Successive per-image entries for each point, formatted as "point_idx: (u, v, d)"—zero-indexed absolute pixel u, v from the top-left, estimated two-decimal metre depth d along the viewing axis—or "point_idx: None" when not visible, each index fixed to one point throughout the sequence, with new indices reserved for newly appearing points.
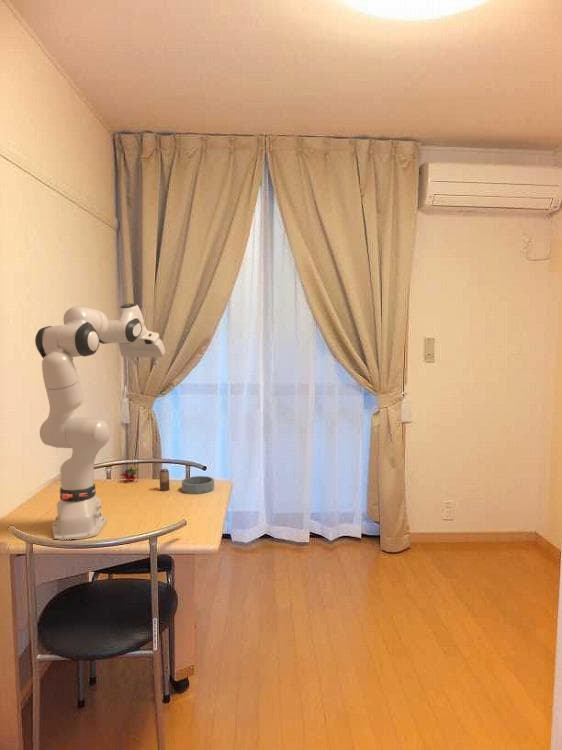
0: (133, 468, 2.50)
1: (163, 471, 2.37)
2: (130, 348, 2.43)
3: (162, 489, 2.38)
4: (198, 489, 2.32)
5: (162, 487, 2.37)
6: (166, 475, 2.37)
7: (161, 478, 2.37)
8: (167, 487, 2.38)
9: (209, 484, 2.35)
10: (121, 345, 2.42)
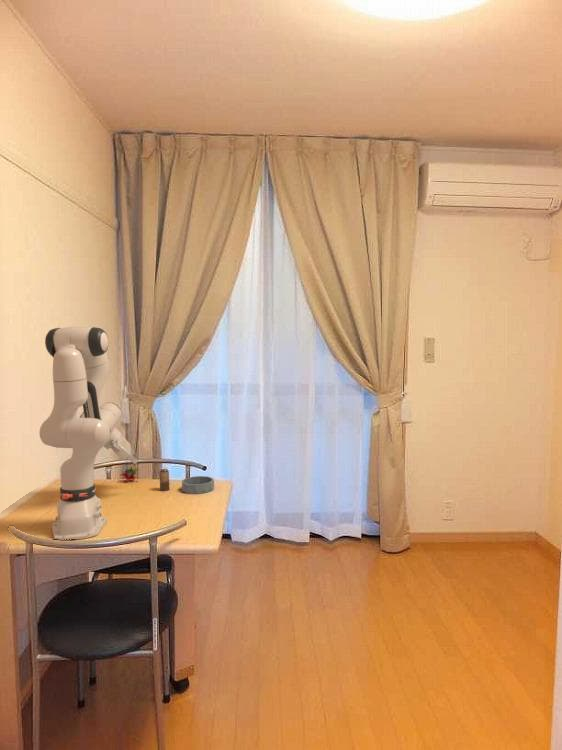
0: (133, 468, 2.50)
1: (163, 471, 2.37)
2: (122, 445, 2.29)
3: (162, 489, 2.38)
4: (198, 489, 2.32)
5: (162, 487, 2.37)
6: (166, 475, 2.37)
7: (161, 478, 2.37)
8: (167, 487, 2.38)
9: (209, 484, 2.35)
10: (119, 444, 2.25)
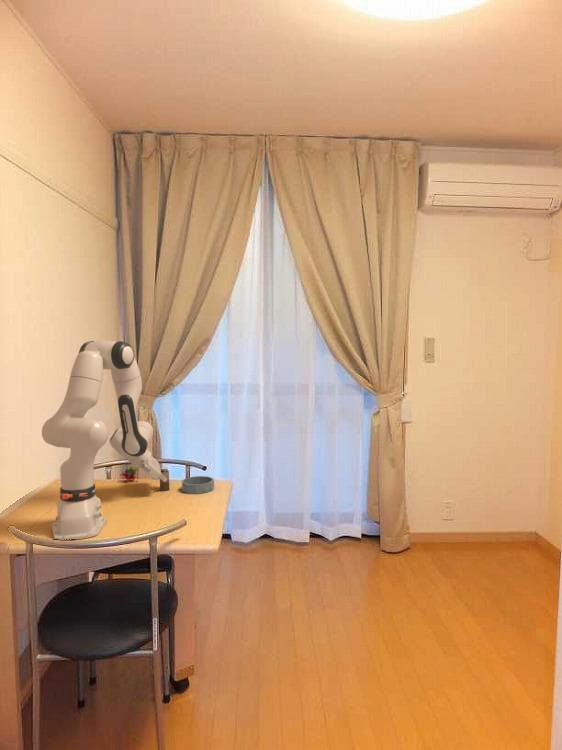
0: (133, 468, 2.50)
1: (163, 471, 2.37)
2: (152, 465, 2.33)
3: (162, 489, 2.38)
4: (198, 489, 2.32)
5: (162, 487, 2.37)
6: (166, 475, 2.37)
7: None
8: (167, 487, 2.38)
9: (209, 484, 2.35)
10: (150, 463, 2.29)
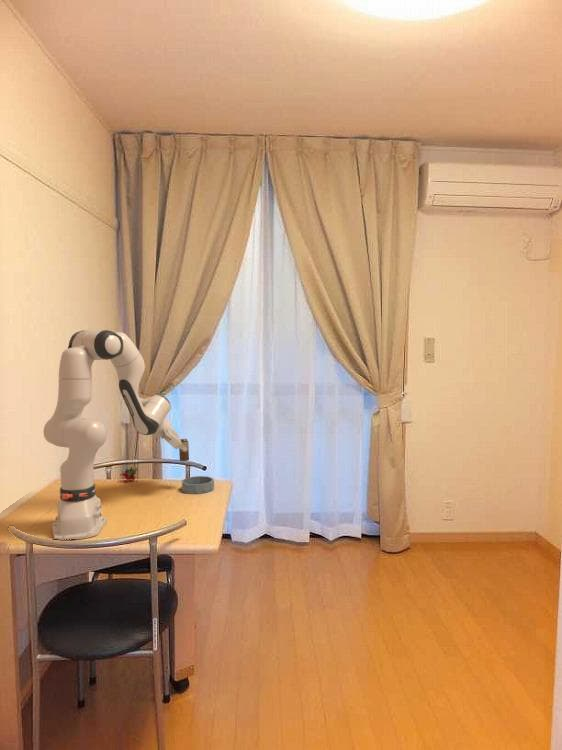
0: (133, 468, 2.50)
1: (183, 441, 2.36)
2: None
3: (182, 459, 2.37)
4: (198, 489, 2.32)
5: (182, 457, 2.37)
6: (185, 444, 2.36)
7: None
8: (187, 457, 2.37)
9: (209, 484, 2.35)
10: (170, 432, 2.28)
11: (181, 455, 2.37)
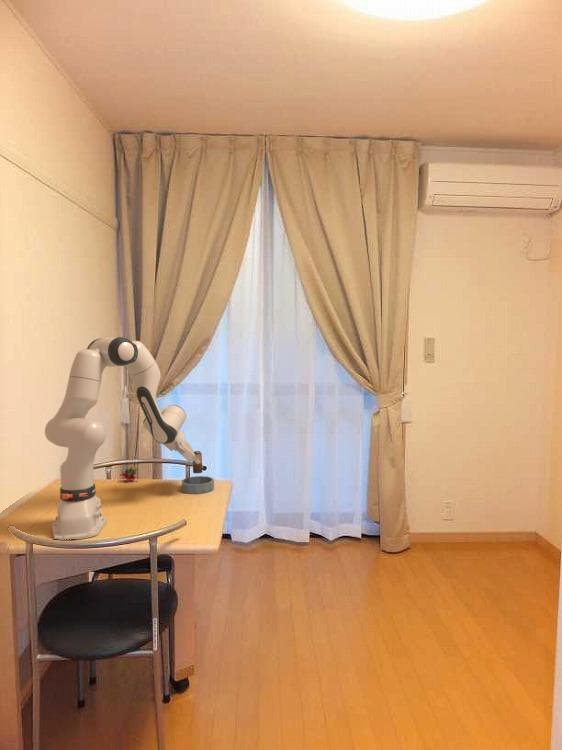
0: (133, 468, 2.50)
1: (196, 453, 2.36)
2: (186, 446, 2.32)
3: (195, 471, 2.37)
4: (198, 489, 2.32)
5: (195, 470, 2.37)
6: (199, 457, 2.36)
7: None
8: (200, 469, 2.37)
9: (209, 484, 2.35)
10: (184, 445, 2.28)
11: (194, 467, 2.37)
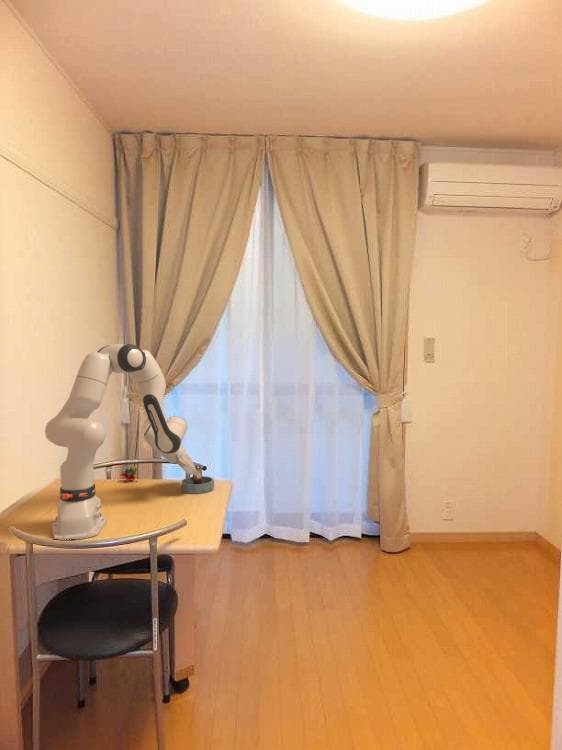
0: (133, 468, 2.50)
1: (196, 468, 2.37)
2: (186, 459, 2.32)
3: None
4: (198, 489, 2.32)
5: None
6: (199, 472, 2.37)
7: (194, 475, 2.37)
8: None
9: (209, 484, 2.35)
10: (184, 458, 2.28)
11: (195, 482, 2.37)
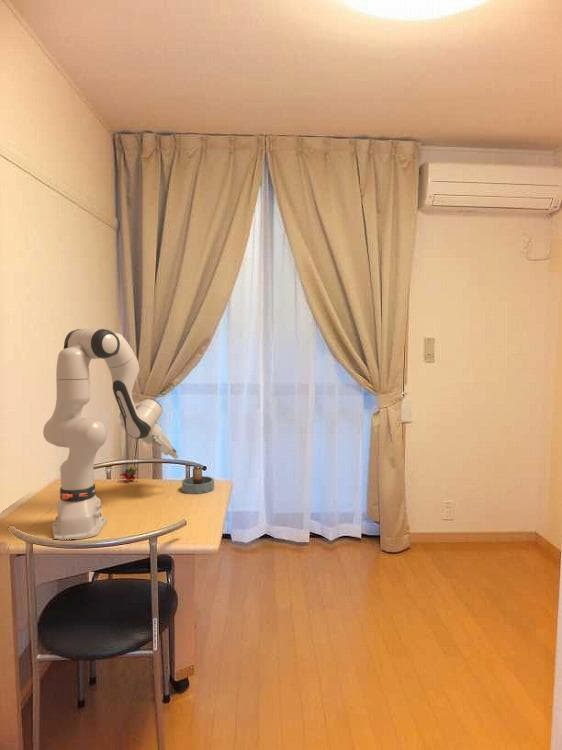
0: (133, 468, 2.50)
1: (196, 468, 2.37)
2: (163, 440, 2.29)
3: None
4: (198, 489, 2.32)
5: None
6: (199, 472, 2.37)
7: (194, 475, 2.37)
8: None
9: (209, 484, 2.35)
10: (160, 438, 2.25)
11: (195, 482, 2.37)
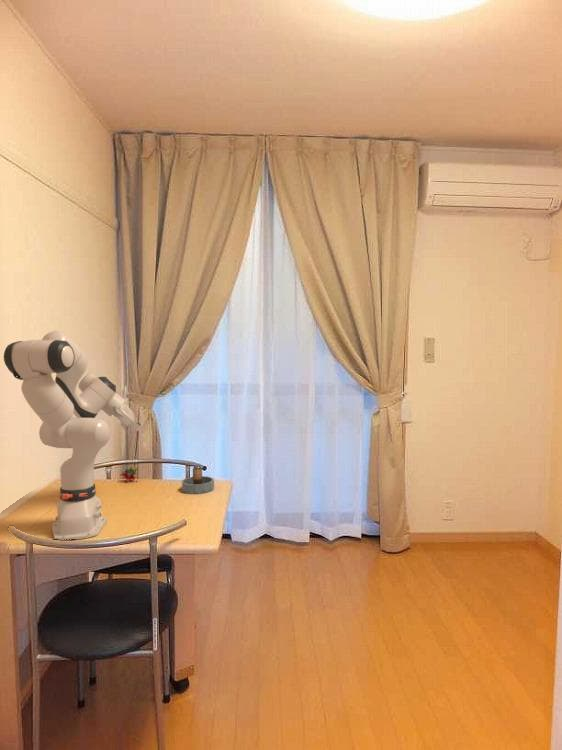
0: (133, 468, 2.50)
1: (196, 468, 2.37)
2: (125, 411, 2.20)
3: None
4: (198, 489, 2.32)
5: None
6: (199, 472, 2.37)
7: (194, 475, 2.37)
8: None
9: (209, 484, 2.35)
10: (122, 409, 2.16)
11: (195, 482, 2.37)
